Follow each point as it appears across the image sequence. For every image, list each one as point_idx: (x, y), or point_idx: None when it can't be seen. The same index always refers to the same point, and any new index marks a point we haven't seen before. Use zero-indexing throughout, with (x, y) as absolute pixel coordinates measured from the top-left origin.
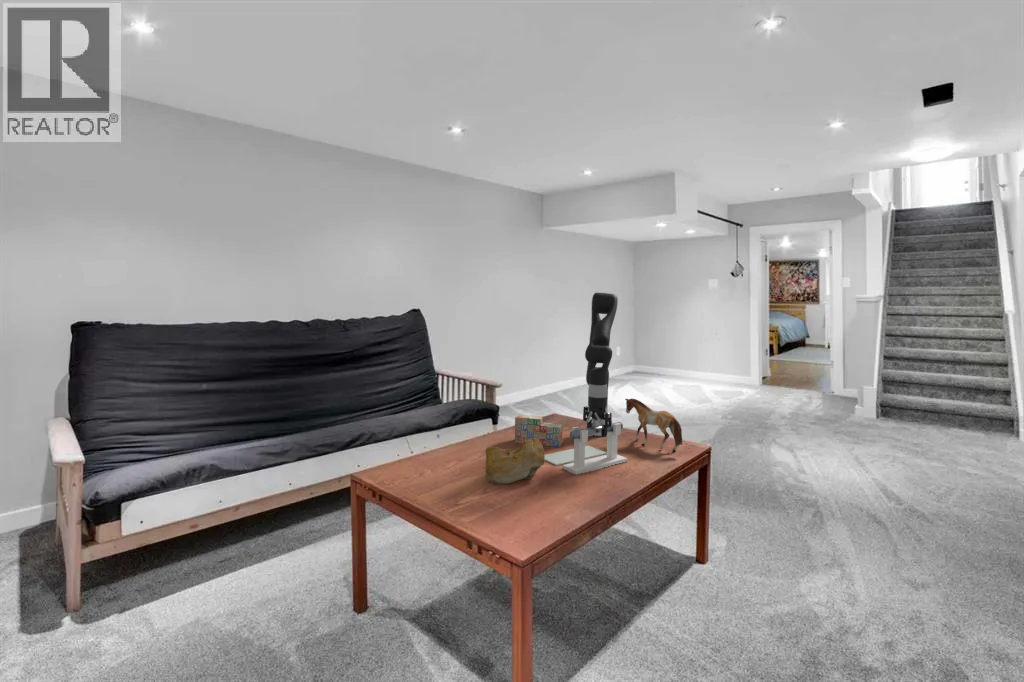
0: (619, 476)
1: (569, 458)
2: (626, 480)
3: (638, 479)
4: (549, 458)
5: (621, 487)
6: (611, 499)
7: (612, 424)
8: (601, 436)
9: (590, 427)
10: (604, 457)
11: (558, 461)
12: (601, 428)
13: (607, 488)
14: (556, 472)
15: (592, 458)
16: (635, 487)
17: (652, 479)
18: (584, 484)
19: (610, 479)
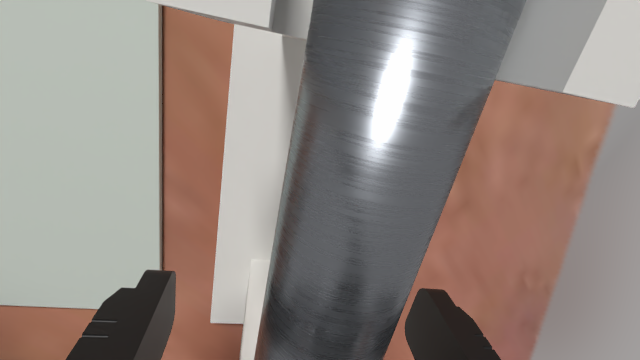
0: (463, 194)
1: (114, 207)
2: (507, 209)
3: (551, 160)
4: (51, 285)
5: (512, 275)
6: (514, 355)
7: (489, 47)
8: (407, 337)
9: (149, 355)
10: (272, 51)
11: (125, 280)
12: (382, 356)
13: (472, 313)
14: (230, 346)
15: (231, 135)
16: (559, 239)
17: (612, 110)
18: (389, 343)
19: (445, 248)
